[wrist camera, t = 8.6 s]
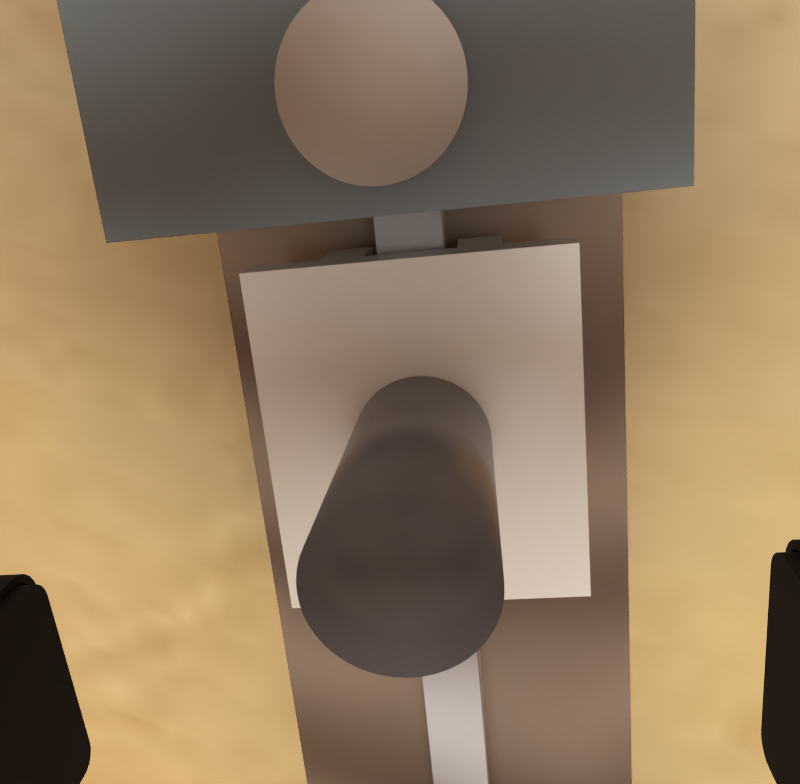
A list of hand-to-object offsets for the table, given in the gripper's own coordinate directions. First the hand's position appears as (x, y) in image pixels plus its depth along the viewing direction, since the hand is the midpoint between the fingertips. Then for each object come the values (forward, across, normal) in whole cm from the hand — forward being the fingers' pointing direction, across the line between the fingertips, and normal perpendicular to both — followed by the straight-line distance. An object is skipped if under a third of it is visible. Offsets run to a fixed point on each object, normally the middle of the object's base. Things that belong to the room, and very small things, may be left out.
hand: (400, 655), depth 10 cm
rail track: (+12, 0, +5) cm, 13 cm away
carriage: (+10, 0, 0) cm, 10 cm away
